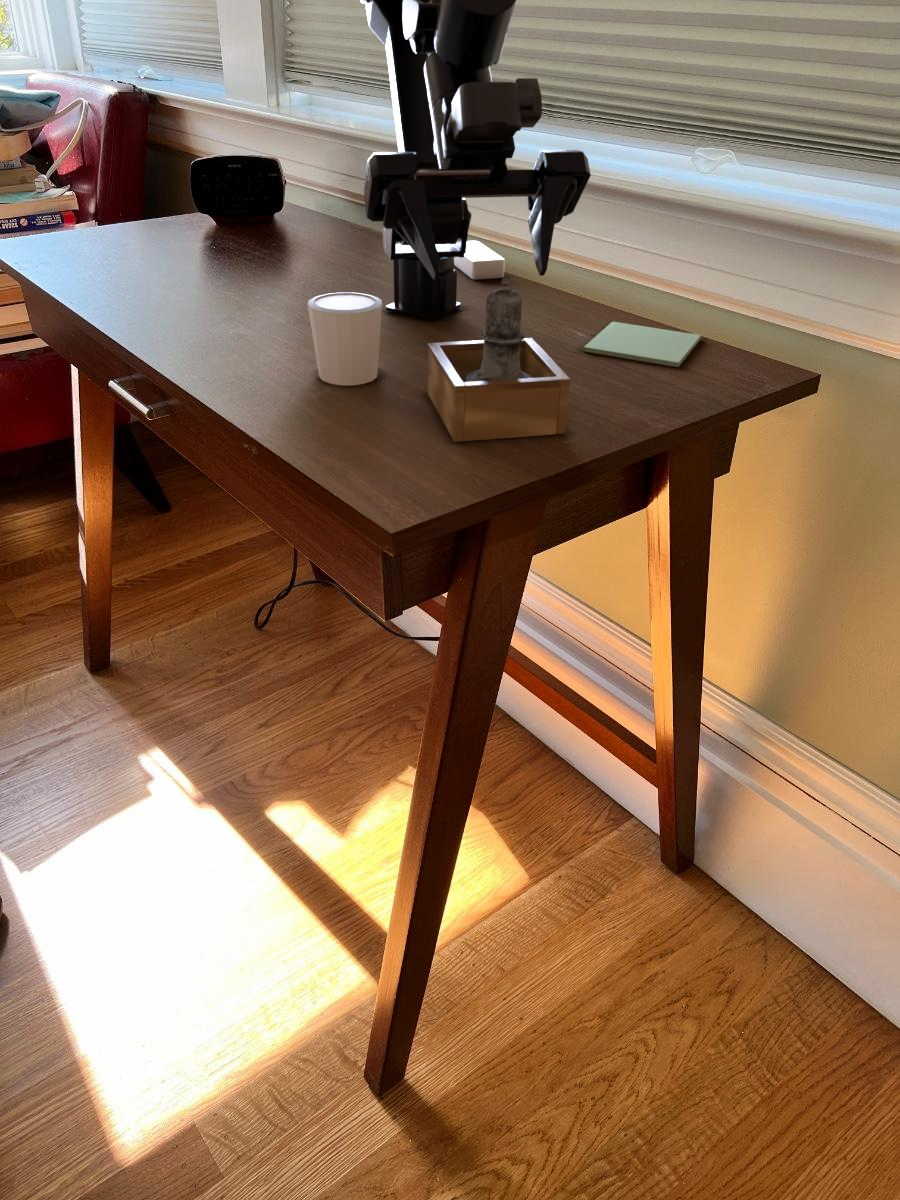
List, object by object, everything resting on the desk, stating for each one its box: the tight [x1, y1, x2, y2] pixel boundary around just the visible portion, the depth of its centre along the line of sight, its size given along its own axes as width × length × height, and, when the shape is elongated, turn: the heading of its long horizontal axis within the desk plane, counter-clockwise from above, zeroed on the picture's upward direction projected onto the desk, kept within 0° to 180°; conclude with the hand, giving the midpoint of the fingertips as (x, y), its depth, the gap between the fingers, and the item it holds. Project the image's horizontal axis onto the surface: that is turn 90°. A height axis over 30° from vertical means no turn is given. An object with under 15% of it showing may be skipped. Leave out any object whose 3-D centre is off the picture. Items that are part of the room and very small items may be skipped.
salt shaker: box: [465, 277, 532, 382], centre depth 75 cm, size 6×6×12 cm
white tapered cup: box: [307, 291, 383, 386], centre depth 85 cm, size 7×7×7 cm
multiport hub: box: [454, 240, 506, 281], centre depth 121 cm, size 4×11×2 cm, turn 18°
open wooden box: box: [427, 337, 571, 443], centre depth 78 cm, size 11×10×5 cm
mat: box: [582, 321, 702, 368], centre depth 96 cm, size 10×10×1 cm
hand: (490, 275), depth 76 cm, fingers open, 9 cm apart
